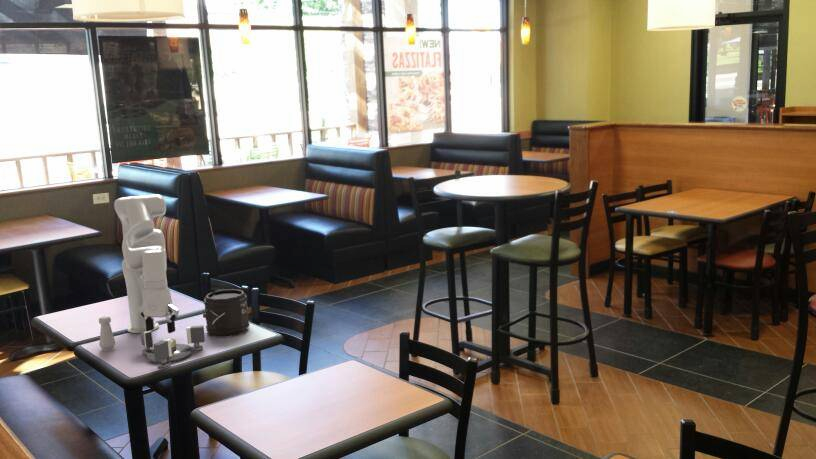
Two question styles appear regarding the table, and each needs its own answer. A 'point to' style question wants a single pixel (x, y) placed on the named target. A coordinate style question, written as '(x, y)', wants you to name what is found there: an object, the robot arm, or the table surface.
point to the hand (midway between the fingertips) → (160, 331)
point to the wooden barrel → (226, 313)
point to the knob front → (162, 350)
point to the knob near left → (195, 335)
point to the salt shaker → (106, 334)
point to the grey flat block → (146, 339)
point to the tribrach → (173, 353)
